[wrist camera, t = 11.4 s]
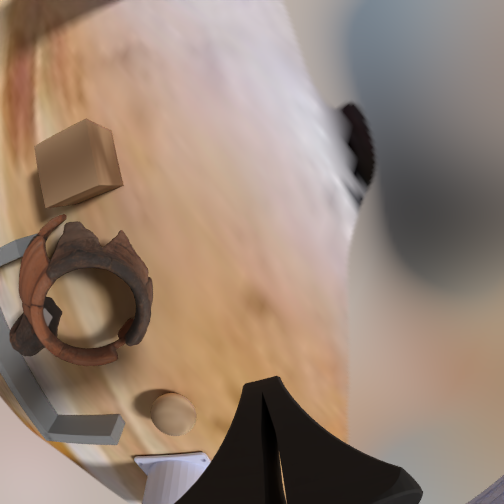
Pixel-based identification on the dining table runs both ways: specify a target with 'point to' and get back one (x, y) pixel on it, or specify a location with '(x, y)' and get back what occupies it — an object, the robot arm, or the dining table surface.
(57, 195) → the walnut block
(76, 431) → the corral
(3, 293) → the dining table surface
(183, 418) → the cork ball
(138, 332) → the pottery mug
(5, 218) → the dining table surface
